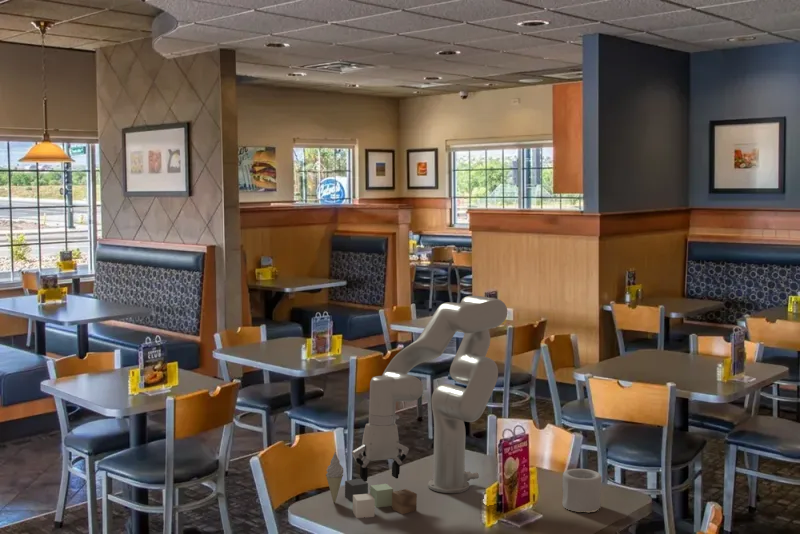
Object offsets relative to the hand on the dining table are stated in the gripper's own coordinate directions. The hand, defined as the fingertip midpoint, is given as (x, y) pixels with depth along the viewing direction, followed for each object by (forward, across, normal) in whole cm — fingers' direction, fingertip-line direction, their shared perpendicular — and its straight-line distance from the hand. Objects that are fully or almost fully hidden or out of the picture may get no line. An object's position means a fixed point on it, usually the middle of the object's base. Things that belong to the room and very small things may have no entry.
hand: (379, 478), depth 255 cm
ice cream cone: (+8, +11, -6) cm, 15 cm away
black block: (+8, +4, -7) cm, 11 cm away
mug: (+6, -53, +23) cm, 58 cm away
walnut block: (+8, -5, +7) cm, 11 cm away
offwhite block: (+8, +7, +6) cm, 12 cm away
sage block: (+8, -1, 0) cm, 8 cm away
